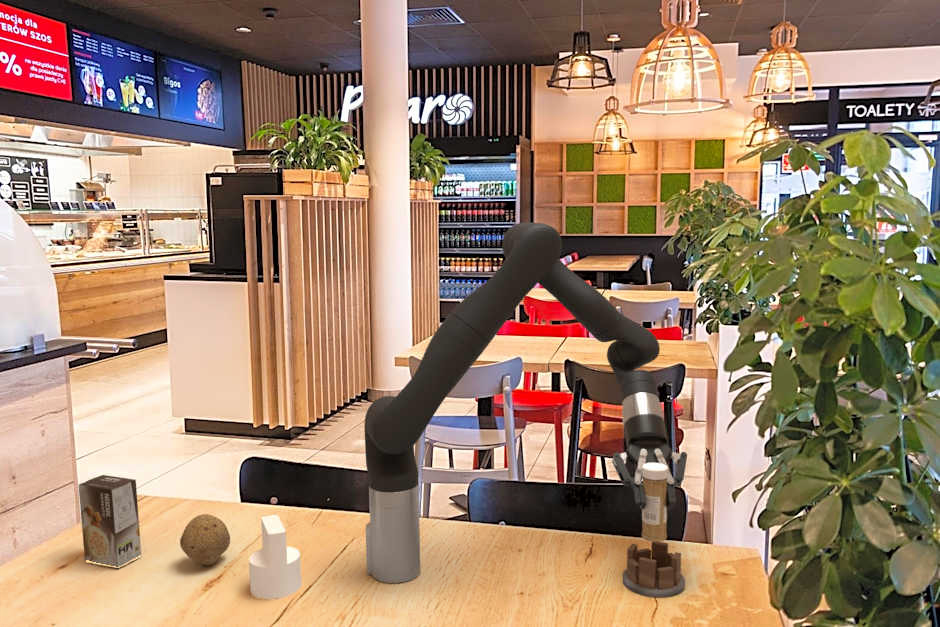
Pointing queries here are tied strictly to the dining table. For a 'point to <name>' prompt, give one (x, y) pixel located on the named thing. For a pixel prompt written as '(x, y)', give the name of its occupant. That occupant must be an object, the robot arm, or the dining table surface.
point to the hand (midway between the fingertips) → (656, 506)
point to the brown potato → (205, 539)
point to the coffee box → (110, 520)
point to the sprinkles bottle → (654, 502)
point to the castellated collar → (654, 571)
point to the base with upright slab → (274, 563)
